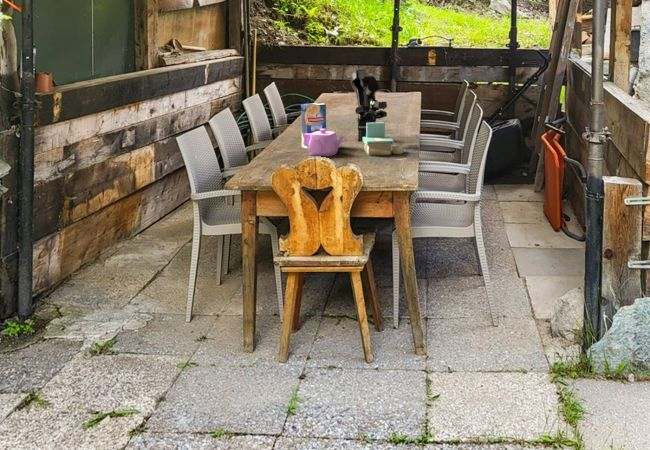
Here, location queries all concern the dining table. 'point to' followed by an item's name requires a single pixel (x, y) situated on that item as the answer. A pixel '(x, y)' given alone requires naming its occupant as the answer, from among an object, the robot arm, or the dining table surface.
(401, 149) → the tape roll
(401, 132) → the dining table surface
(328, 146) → the teakettle
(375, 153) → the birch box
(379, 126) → the teal l-shaped bracket
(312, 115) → the beverage box
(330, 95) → the dining table surface
